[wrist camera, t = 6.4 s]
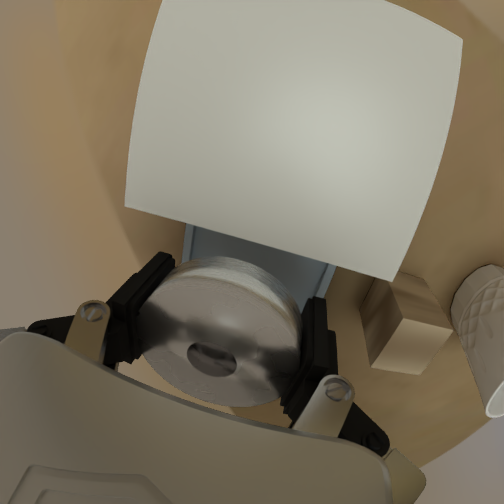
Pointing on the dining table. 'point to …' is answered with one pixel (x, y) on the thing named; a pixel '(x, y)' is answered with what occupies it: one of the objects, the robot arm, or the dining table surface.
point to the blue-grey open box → (263, 261)
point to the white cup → (483, 332)
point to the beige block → (403, 324)
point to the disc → (222, 332)
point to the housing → (295, 124)
